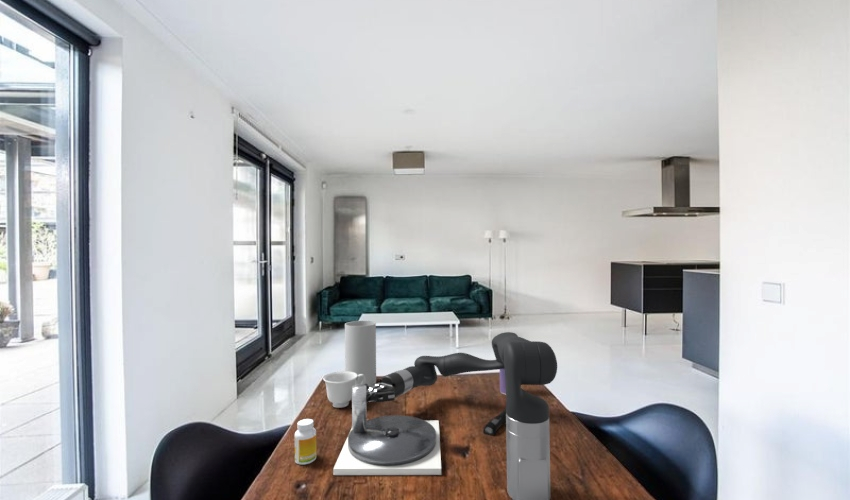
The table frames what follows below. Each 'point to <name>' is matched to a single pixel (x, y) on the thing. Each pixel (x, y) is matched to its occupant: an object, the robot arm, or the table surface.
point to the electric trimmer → (495, 424)
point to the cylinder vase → (361, 350)
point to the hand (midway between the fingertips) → (358, 401)
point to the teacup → (341, 387)
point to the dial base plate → (420, 467)
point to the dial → (387, 435)
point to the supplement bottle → (305, 442)
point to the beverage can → (502, 382)
